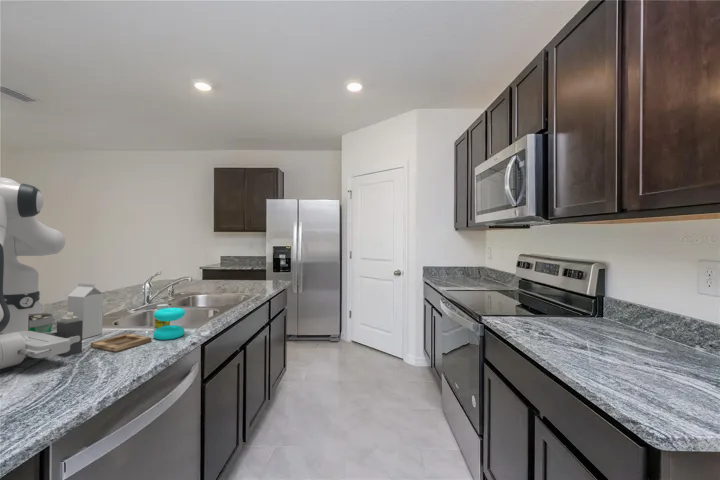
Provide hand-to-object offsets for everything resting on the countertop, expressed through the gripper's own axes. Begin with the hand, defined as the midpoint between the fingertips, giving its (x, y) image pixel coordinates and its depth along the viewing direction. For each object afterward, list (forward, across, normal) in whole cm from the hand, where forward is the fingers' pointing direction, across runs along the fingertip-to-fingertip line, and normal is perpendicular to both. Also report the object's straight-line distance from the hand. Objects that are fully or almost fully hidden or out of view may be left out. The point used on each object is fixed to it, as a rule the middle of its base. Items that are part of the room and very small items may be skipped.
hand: (68, 336), depth 101 cm
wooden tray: (+12, -6, +5) cm, 15 cm away
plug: (0, 0, +5) cm, 5 cm away
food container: (0, +15, +6) cm, 16 cm away
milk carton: (+13, +15, +6) cm, 21 cm away
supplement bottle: (+31, -1, +6) cm, 32 cm away
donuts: (+25, -12, +6) cm, 28 cm away
